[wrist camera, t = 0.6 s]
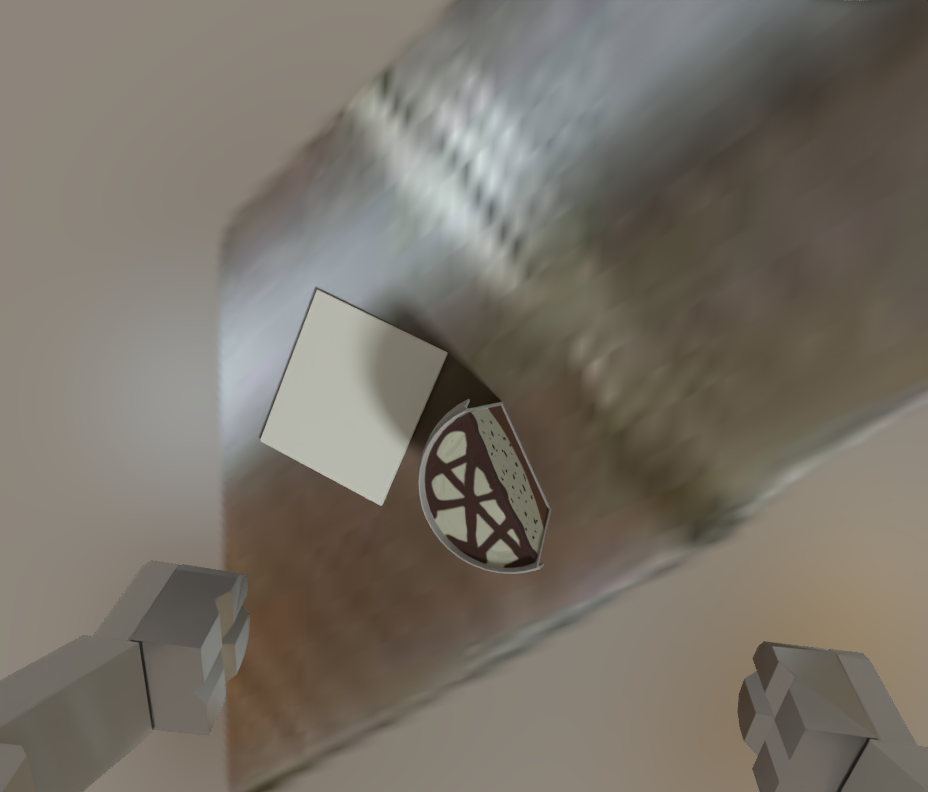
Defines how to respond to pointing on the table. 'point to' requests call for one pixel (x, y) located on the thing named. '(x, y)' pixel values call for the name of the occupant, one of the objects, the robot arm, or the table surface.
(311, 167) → the table surface
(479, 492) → the food container
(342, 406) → the cream flat rectangular plate
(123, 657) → the robot arm
